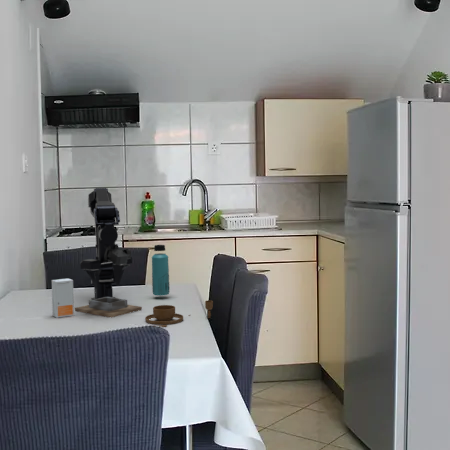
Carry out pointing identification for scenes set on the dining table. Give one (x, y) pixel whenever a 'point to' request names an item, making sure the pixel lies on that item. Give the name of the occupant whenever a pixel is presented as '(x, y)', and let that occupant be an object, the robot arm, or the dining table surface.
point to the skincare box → (62, 298)
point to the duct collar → (108, 307)
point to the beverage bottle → (160, 272)
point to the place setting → (170, 314)
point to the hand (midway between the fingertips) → (107, 287)
